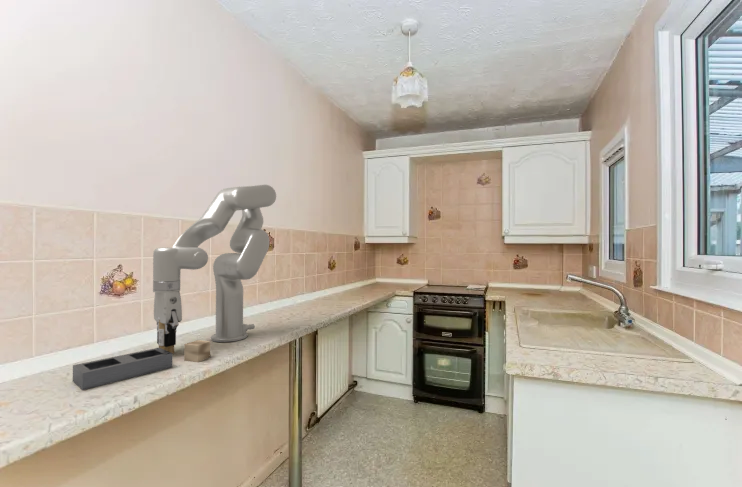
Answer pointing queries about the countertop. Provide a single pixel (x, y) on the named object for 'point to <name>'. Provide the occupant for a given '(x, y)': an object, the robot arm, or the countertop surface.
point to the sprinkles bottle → (161, 337)
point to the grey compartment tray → (120, 367)
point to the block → (197, 351)
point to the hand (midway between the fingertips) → (166, 343)
